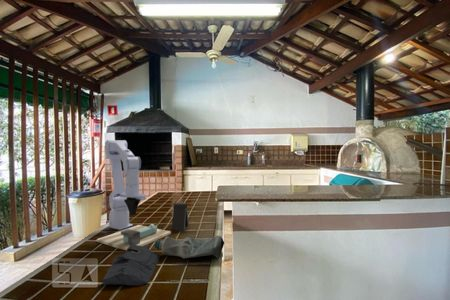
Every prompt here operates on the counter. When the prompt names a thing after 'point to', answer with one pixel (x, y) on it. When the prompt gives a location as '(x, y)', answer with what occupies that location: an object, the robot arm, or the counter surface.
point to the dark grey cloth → (132, 267)
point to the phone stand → (180, 216)
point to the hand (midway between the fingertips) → (132, 214)
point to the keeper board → (124, 245)
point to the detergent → (191, 247)
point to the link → (143, 232)
